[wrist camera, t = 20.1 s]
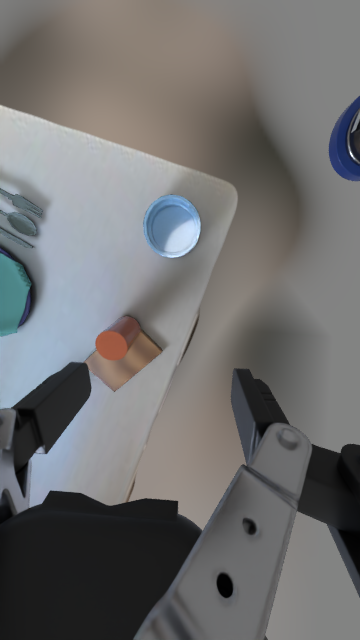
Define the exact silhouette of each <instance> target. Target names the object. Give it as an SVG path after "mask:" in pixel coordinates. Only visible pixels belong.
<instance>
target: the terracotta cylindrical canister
mask: <svg viewBox="0 0 360 640" xmlns="http://www.w3.org/2000/svg"><path fill="white" fill-rule="evenodd" d="M139 335H140V326H139V324H138V322H137V321H136V320H135V319H133V318H131V317H127V316H124V317H121V318H119V319H118V320H116V321H115V322H114V323H113V324H111V325H110V326H109V327H108V328H107V329H105V330H104V331H103V332H102V333H100V334H99V335H98V337H97V339H96V343H95V344H96V349H97V351H98V353H99V354H100V355H101V356H102V357H103V358H105V359H107V360H111V361H116V360H120V359H122V358H123V357H124V356H125V355H126V354H127V352H128V351H129V349H130V348H131V346H132V345H133V344H134V342H135V341H136V339H137V338H138V337H139Z"/></svg>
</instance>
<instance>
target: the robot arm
mask: <svg viewBox="0 0 360 640" xmlns="http://www.w3.org/2000/svg"><path fill="white" fill-rule="evenodd" d="M345 147H346V152H347V154H348V156H349V158H350V160H351V161H352V162H353V163H355V164H356V165H358V166H360V108H359V109H358V110H357V111H356V113H355V114H354V115H353V117H352V119H351V121H350V123H349V125H348V128H347V131H346V136H345ZM90 393H91V382H90V376H89V370H88V365H87V364H86V363H81V362H71V363H69V364H68V365H67V366H66V367H64V368H63V369H62V370H61V371H59V372H57V373H55V374H53V375H51V376H50V377H48V378H47V379H46V380H45V381H43V382H42V384H40V385H39V386H37V387H36V389H34V390H33V391H31V392H30V393H29V394H28V395H27V396H25V397H24V398H23V399H22V400H20V401H19V402H18V403H17V404H16V405H14V406H13V407H12V408H4V409H0V640H268V639H267V637H266V636H265V633H266V629H267V625H268V621H269V617H270V614H271V610H272V606H273V602H274V598H275V594H276V590H277V586H278V582H279V578H280V575H281V570H282V566H283V563H284V559H285V555H286V551H287V547H288V543H289V539H290V535H291V532H292V528H293V524H294V520H295V516H296V512H297V511H298V512H301V513H303V514H305V515H308V516H310V517H312V518H314V519H317V520H319V521H321V522H324V523H326V524H327V526H328V528H329V530H330V532H331V534H332V537H333V539H334V541H335V543H336V545H337V548H338V550H339V552H340V555H341V557H342V559H343V561H344V563H345V566H346V568H347V570H348V572H349V574H350V577H351V579H352V581H353V584H354V586H355V588H356V590H357V592H358V594H359V597H360V445H356V444H347V445H345V446H344V447H343V448H342V449H341V453H337V452H334V451H331V450H328V449H325V448H321V447H318V446H315V445H313V444H311V443H310V441H309V439H308V438H307V436H306V435H305V434H304V433H302V432H301V431H300V430H298V429H297V428H295V427H293V426H291V425H290V424H289V422H288V420H287V419H286V417H285V415H284V413H283V412H282V410H281V408H280V407H279V405H278V403H277V401H276V399H275V398H274V396H273V395H272V392H271V390H270V389H269V387H268V386H267V385H266V384H265V383H264V382H263V381H262V380H260V379H254V378H253V377H252V374H251V372H250V370H249V369H234V370H233V378H232V390H231V403H232V408H233V412H234V416H235V420H236V424H237V428H238V432H239V436H240V440H241V444H242V448H243V451H244V456H245V460H246V464H247V466H245V465H244V464H243V465H241V467H240V468H239V469H238V471H237V473H236V474H235V476H234V478H233V480H232V482H231V483H230V485H229V487H228V488H227V490H226V492H225V493H224V495H223V497H222V499H221V500H220V502H219V504H218V505H217V507H216V509H215V511H214V513H213V514H212V516H211V518H210V519H209V521H208V523H207V524H206V526H205V528H204V530H203V531H202V530H201V529H200V528H199V527H198V526H197V525H196V524H195V523H193V522H192V521H191V520H189V519H187V518H186V517H184V516H182V515H180V514H178V501H170V500H160V499H147V498H145V499H140V500H136V501H131V502H127V503H122V504H118V505H113V506H108V505H105V504H103V503H101V502H99V501H97V500H94V499H92V498H90V497H88V496H86V495H84V494H82V493H74V492H62V491H50V492H49V493H48V495H47V497H46V498H45V500H44V501H43V503H42V504H40V505H37V506H34V507H31V508H29V500H30V483H31V466H32V463H31V459H30V458H31V457H32V456H33V454H34V453H39V454H47V453H48V452H49V450H50V449H51V448H52V446H53V445H54V444H55V442H56V441H57V440H58V438H59V437H60V436H61V434H62V433H63V432H64V430H65V429H66V428H67V426H68V425H69V424H70V422H71V421H72V420H73V418H74V417H75V416H76V414H77V413H78V412H79V410H80V409H81V408H82V406H83V405H84V404H85V402H86V401H87V400H88V398H89V396H90Z"/></svg>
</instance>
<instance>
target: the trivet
mask: <svg viewBox="0 0 360 640" xmlns="http://www.w3.org/2000/svg"><path fill="white" fill-rule="evenodd" d="M161 352H162V349H161V348H160V347H159V346H158V345H157V344H156V343H155V342H154V341H153V340H152V339H151V338H150V337H149V336H148V335H147V334H146V333H145V332H144V331H143V330H142V329H141V328H140V335H139V337H138V338H137V339H136V341H135V342H134V344H133V345H132V346H131V348H130V349H129V351H128V352H127V354H126V355H125V356H124V357H123V358H122V359H120V360H116V361H111V360H107V359H105V358H103V357H102V356H101V355H100V354H99V353H98V351H97V350H96V351H95V352H94V353H93V354H92V355H91V356H90V357H89V358H87V359H86V360H85V361H84V362H83V363H86V364H87V365H88V369H89V370H90V371H91V372H92V373H93V374H94V375H96V376H97V377H98V378H99V379H100V380H101V381H102V382H104V383H105V384H106V385H107V386H108V387H109V388H110V389H112V390H113V391H114V392H115V391H116V390H117V389H119V388H120V387H121V386H122V385H123V384H125V383H126V382H127V381H128V380H129V379H131V378H132V377H133V376H134V375H135V374H136V373H138V372H139V371H140V370H141V369H142V368H144V367H145V366H146V365H147V364H148V363H150V362H151V361H152V360H153V359H154V358H156V357H157V356H158V355H159V354H160V353H161Z"/></svg>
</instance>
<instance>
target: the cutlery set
mask: <svg viewBox="0 0 360 640" xmlns="http://www.w3.org/2000/svg"><path fill="white" fill-rule="evenodd" d="M0 193H1V194H3V195H4V196H6V197H8V199H10V200H12V202H13V205H15V206H17V207H19V208H21V209H23V210H25V211H27V212H29V213H31V214H33V215H35V216H37V217H39V218H41V217H40V216H39V215H38V214H36V213H34V212H33V211H35V212H37V213H39V214H40V215H42V213H40V212H39V211H37V210H36V209H38V210H40V211H42V212H43V210H41V209H40V208H38V207H37V206H35V205H34V204H32V203H31V202H29V201H28V200H26V199H25V198H24V197H22V196H20V195H18V194H15V195H12V194H9V193H7V192H6V191H4V190H2V189H1V188H0ZM29 205H30V206H29ZM31 206H32V207H34V208H36V209H34V208H32V207H31ZM28 208H29V209H28ZM30 209H31V210H33V211H31V210H30ZM0 213H1V214H3V215H5V216H6V217H7V220H8V221H9V223H10V224H11V226H12V227H13V228H14V229H16V230H17V231H18V232H20V233H22V234H25V235H28V236H29V235H35V234H36V231H37V229H36V227H35V226H34V224H33V222H32V221H31V220H29V219H28V218H27V217H26V216H24V215H22V214H19V213H16V212H13V213H8V214H6V213H5V212H3V211H1V210H0ZM0 233H1V234H3V235H4V236H6V237H7V238H9V239H11V240H13V241H14V242H16V243H18V244H20V245H22V246H24V247H27V248H33V246H31V245H30V244H28V243H26V242H24V241H22V240H21V239H19V238H17V237H15V236H13V235H12V234H10V233H8V232H6V231H4V230H3V229H1V228H0ZM30 287H31V282H30V280H29V278H28V276H27V275H26V272H25V270H24V267H23V266H22V265H21V264H19V263H18V262H16V261H15V260H14V259H13V258H12V257H11V255H10V254H9V253H7V252H6V251H5V250H3V249H2V248H0V336H6V335H8V334H12V333H17V327H19V326H20V325H21V324H23V323H24V321H25V319H26V317H27V316H28V314H29V312H30V304H31V294H30Z"/></svg>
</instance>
